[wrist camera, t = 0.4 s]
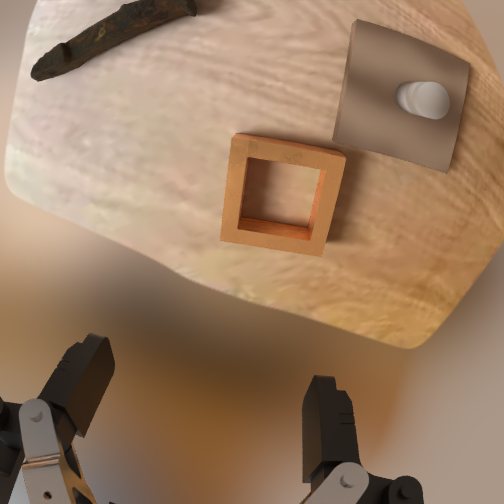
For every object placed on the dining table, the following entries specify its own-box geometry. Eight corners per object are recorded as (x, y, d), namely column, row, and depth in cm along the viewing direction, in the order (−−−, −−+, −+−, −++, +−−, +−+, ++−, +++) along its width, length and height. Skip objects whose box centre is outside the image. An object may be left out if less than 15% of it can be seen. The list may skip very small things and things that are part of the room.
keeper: (352, 23, 22) (372, 5, 16) (459, 63, 22) (499, 63, 15) (332, 139, 28) (347, 153, 21) (438, 168, 27) (472, 190, 21)
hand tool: (193, -15, 21) (179, -30, 17) (201, 17, 23) (188, 5, 19) (44, 58, 24) (18, 59, 20) (50, 86, 26) (24, 90, 22)
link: (236, 133, 28) (231, 137, 25) (340, 151, 28) (346, 158, 25) (225, 227, 33) (220, 240, 30) (318, 243, 33) (321, 257, 30)
